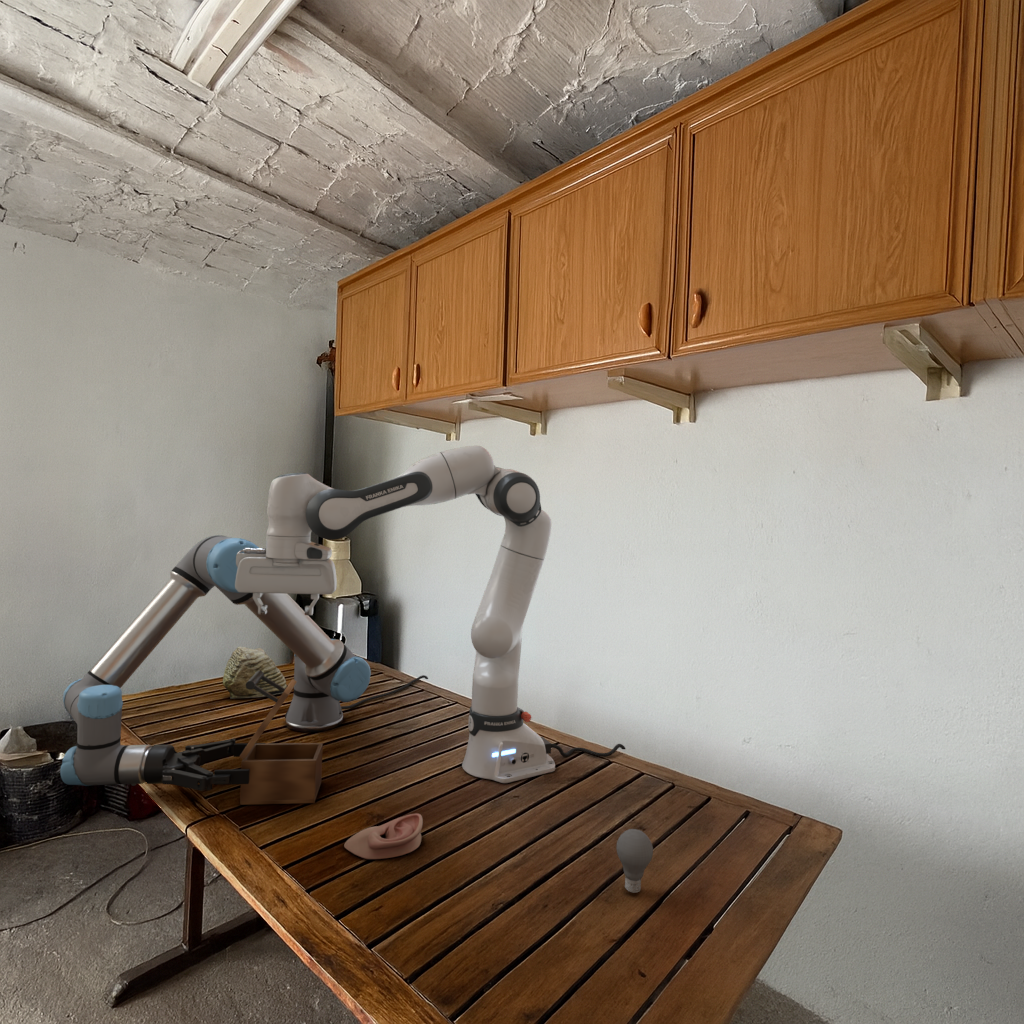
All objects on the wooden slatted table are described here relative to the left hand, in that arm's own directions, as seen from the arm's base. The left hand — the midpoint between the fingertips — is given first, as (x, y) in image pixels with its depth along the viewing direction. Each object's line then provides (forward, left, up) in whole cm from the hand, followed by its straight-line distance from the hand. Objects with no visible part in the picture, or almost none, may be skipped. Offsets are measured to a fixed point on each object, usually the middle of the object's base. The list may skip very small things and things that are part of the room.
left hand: (257, 762), depth 134 cm
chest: (-4, +4, -7) cm, 9 cm away
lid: (-2, +2, +9) cm, 9 cm away
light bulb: (-24, +76, -7) cm, 80 cm away
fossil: (-34, -61, -7) cm, 70 cm away
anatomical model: (-6, +34, -7) cm, 36 cm away
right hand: (-3, +3, +31) cm, 32 cm away
